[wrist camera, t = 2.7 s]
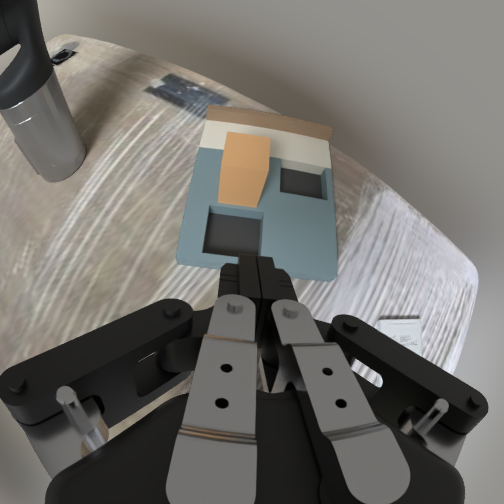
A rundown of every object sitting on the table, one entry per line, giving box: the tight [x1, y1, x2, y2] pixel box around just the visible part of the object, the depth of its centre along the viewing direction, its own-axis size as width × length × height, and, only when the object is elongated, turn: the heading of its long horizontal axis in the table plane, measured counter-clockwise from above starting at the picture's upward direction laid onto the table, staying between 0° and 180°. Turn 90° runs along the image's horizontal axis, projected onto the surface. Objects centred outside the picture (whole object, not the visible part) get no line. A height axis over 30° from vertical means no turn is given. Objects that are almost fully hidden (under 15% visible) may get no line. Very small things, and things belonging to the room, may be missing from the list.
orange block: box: [218, 131, 271, 208], centre depth 33 cm, size 5×5×8 cm
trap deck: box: [176, 105, 338, 282], centre depth 38 cm, size 20×24×5 cm
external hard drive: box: [377, 319, 422, 387], centre depth 34 cm, size 2×8×12 cm
